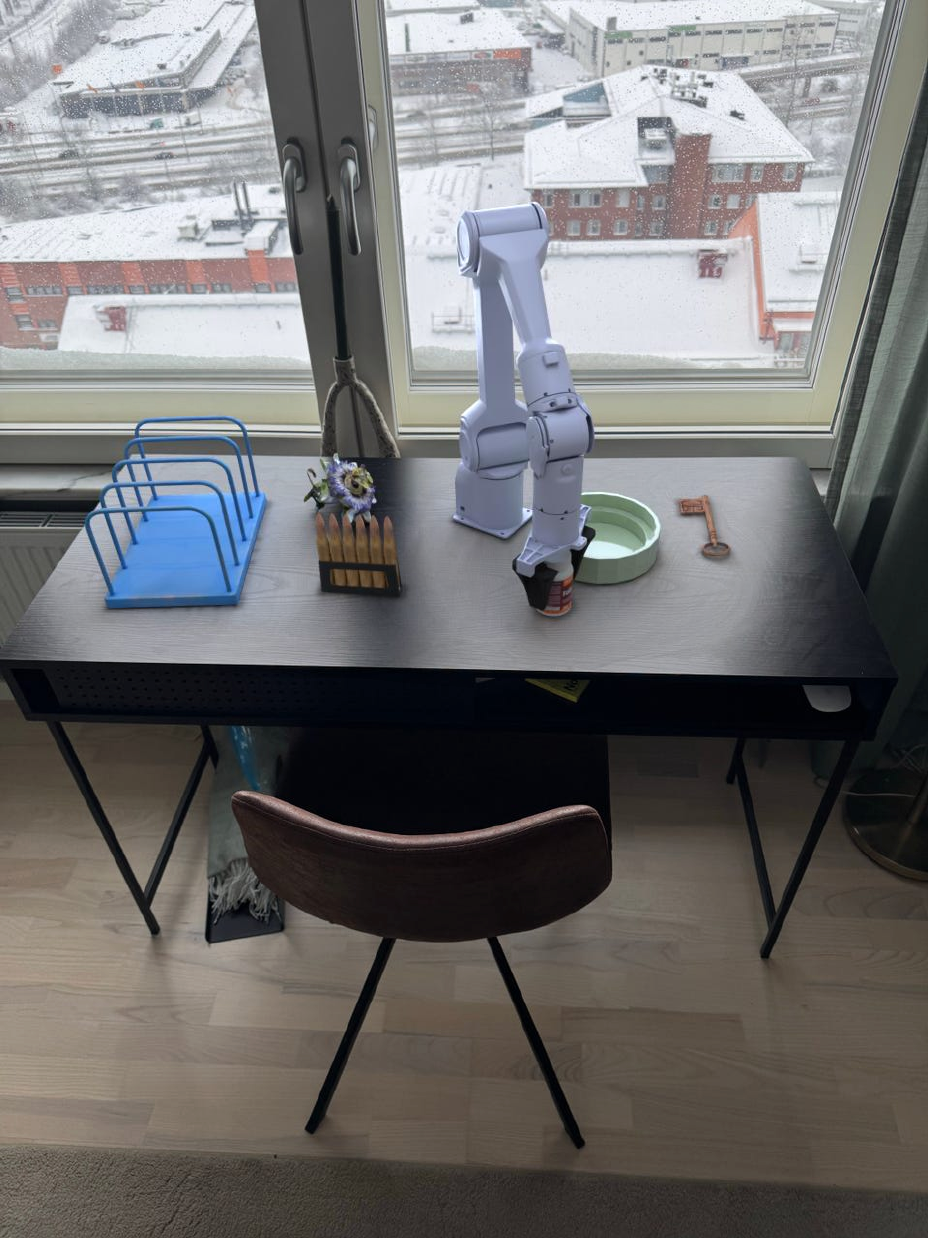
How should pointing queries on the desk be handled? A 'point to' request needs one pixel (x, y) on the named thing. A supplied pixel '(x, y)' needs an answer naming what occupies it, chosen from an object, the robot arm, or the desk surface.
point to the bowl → (618, 539)
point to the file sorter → (182, 533)
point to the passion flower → (344, 489)
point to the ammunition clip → (357, 558)
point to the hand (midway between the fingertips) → (552, 591)
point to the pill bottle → (560, 585)
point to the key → (712, 532)
